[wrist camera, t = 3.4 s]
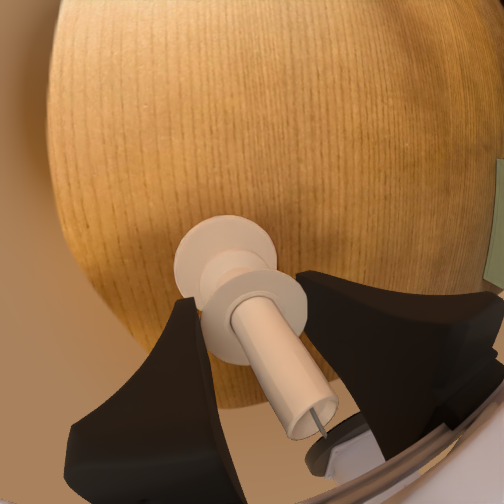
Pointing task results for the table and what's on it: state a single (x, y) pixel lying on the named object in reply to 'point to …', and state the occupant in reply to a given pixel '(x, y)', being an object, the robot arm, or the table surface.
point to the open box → (497, 234)
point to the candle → (255, 317)
